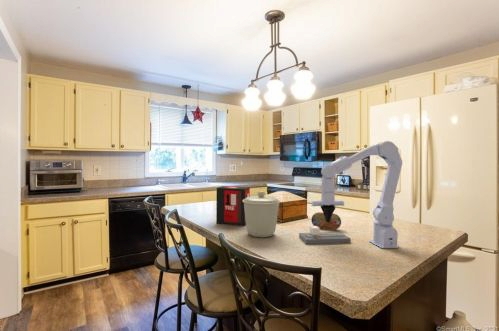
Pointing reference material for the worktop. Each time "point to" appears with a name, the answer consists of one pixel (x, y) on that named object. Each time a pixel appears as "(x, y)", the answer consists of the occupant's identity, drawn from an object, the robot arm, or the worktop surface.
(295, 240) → the worktop surface
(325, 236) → the fader console
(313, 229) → the fader tab
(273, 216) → the canister
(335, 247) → the worktop surface
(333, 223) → the tin
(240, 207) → the cleaning product box
